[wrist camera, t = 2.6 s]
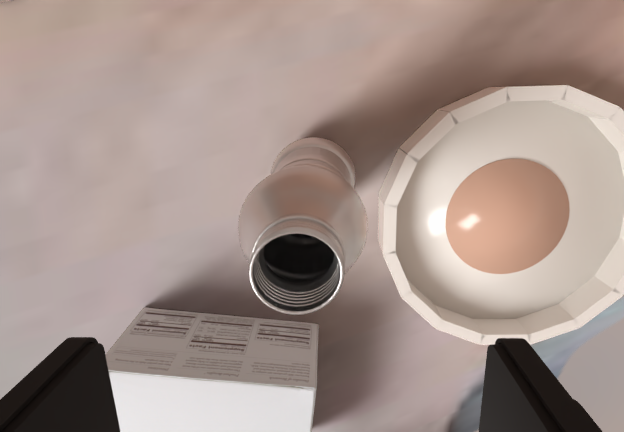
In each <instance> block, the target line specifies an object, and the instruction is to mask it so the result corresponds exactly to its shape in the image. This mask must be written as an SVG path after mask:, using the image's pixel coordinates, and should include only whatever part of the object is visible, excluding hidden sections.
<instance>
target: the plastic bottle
mask: <svg viewBox="0 0 624 432" xmlns="http://www.w3.org/2000/svg"><path fill="white" fill-rule="evenodd" d="M354 185H355V169H354V165H353V162H352V160H351V158H350V156H349V155H348V154H347V152H346V151H345V150H344V149H343V148H342V147H340V146H339V145H338V144H336V143H334V142H332V141H330V140H327V139H324V138H317V137H311V138H304V139H300V140H297V141H295V142H293V143H291V144H289V145H288V146H287V147H286V148H284V149H283V150H282V151H281V152H280V154H279V155H278V156H277V158H276V160H275V161H274V163H273V166H272V169H271V175H269V176H268V177H266V178H265V179H264V180H263V181H261V182H260V183H259V184H258V185H256V187H255V188H254V189H253V190H252V191H251V192H250V193H249V195H248V196H247V198H246V200H245V202H244V204H243V205H242V209H241V212H240V215H239V222H238V233H239V240H240V245H241V248H242V251H243V254H244V256H245V258H246V260H247V261H248V263H249V279H250V283H251V286H252V289H253V291H254V292H255V294H256V296H257V297H258V298H259V299H260V300H261V301H262V302H263V303H264V304H265V305H267V306H268V307H269V308H271V309H273V310H275V311H278V312H281V313H284V314H291V315H303V314H308V313H313V312H315V311H317V310H320V309H322V308H323V307H325V306H326V305H328V304H329V303H330V302H331V301H332V300H333V299H334V298H335V297H336V295H337V294H338V292H339V291H340V288H341V286H342V284H343V280H344V275H345V273H346V272H347V271H348V270H349V269H350V268H351V267H352V266H353V264H354V263H355V261H356V260H357V258H358V257H359V255H360V254H361V252H362V250H363V247H364V245H365V243H366V237H367V232H368V220H367V215H366V211H365V207H364V205H363V203H362V201H361V199H360V197H359V195H358V193H357V192H356V191H355V189H354Z"/></svg>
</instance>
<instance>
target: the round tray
mask: <svg viewBox="0 0 624 432" xmlns="http://www.w3.org/2000/svg"><path fill="white" fill-rule="evenodd" d="M378 242H379V245H380V248H381V251H382V254H383V256H384V259H385V261H386V263H387V266H388V268H389V270H390V273H391V275H392V277H393V280H394V282H395V284H396V287H397V289H398V291H399V294H400V296H401V298H402V299H403V300H404V301H405V302H406V303H408V304H409V305H410V306H411V307H412V308H413V309H414V310H415V311H416V312H417V313H419V314H420V315H421V316H422V317H423V318H424V319H425V320H426V321H427V322H428V323H429V324H431V325H432V326H433V327H434V328H436V329H437V330H440V331H443V332H445V333H448V334H451V335H454V336H457V337H459V338H462V339H465V340H468V341H470V342H473V343H476V344H479V345H490V344H495V342H496V340H497V339H498V338H523V339H525V340H526V341H527V342H528V343H529V344H530V345H531V344H534V343H537V342H540V341H543V340H546V339H549V338H552V337H554V336H557V335H560V334H563V333H566V332H569V331H572V330H575V329H578V328H579V327H582V326H583V325H584V324H586V323H587V322H588V321H590V320H591V319H592V318H594V317H595V316H597V315H598V314H599V313H601V312H602V311H603V310H605V309H606V308H607V307H609V306H610V305H611V304H613V303H614V302H615V301H617V300H618V299H619V298H621V297H622V295H624V111H623V110H622V108H621V107H619V106H617V105H614V104H612V103H609V102H607V101H605V100H602V99H600V98H598V97H595V96H593V95H590V94H588V93H586V92H583V91H581V90H579V89H576V88H574V87H571V86H569V85H546V86H512V87H488V88H485V89H483V90H481V91H479V92H476V93H474V94H472V95H469V96H467V97H465V98H463V99H460V100H458V101H456V102H453V103H451V104H449V105H447V106H444V107H442V108H440V109H438V110H436V111H435V112H434V113H433V114H432V115H431V116H430V117H429V118H428V119H427V120H426V121H425V122H424V123H423V124H422V125H421V126H420V127H419V128H418V129H417V130H416V131H415V132H414V133H413V134H412V135H411V136H410V137H409V138H408V139H407V140H406V141H405V142H404V143H403V144H402V145H401V146H400V147H399V149H398V151H397V153H396V155H395V158H394V160H393V162H392V164H391V167H390V169H389V171H388V173H387V176H386V178H385V180H384V182H383V185H382V187H381V189H380V191H379V195H378Z"/></svg>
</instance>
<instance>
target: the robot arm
mask: <svg viewBox="0 0 624 432" xmlns="http://www.w3.org/2000/svg"><path fill="white" fill-rule="evenodd" d="M8 1H13V0H0V3H3V2H8ZM0 432H120V427H119V422H118V417H117V412H116V406H115V401H114V396H113V391H112V386H111V381H110V376H109V371H108V366H107V361H106V356H105V351H104V347H103V345H102V344H98V342H97V340H96V339H95V338H93V337H71V338H68V339H66V340H65V341H64V342H63V343H61V344H60V345H59V346H58V347H57V348H56V349H55V350H54V351H53V352H52V353H51V354H50V355H48V356H47V357H46V358H45V359H44V360H43V361H42V362H41V363H40V364H39V365H38V366H36V367H35V368H34V369H33V370H32V371H31V372H30V373H29V374H28V375H27V376H26V377H24V378H23V379H22V380H21V381H20V382H19V383H18V384H17V385H16V386H15V387H14V388H13V389H11V390H10V391H9V392H8V393H7V394H6V395H5V396H4V397H3V398H2V399H1V400H0ZM479 432H602V431H601V429H600V428H599V427H598V426H597V424H596V423H595V422H594V421H593V419H592V418H591V417H590V416H589V414H588V413H587V412H586V411H585V409H584V408H583V407H582V406H581V405H580V404H579V403H578V402H577V401H576V400H574V399H572V398H571V396H570V395H569V394H568V392H567V391H566V390H565V389H564V387H563V386H562V385H561V384H560V382H559V381H558V380H557V379H556V377H555V376H554V375H553V373H552V372H551V371H550V370H549V368H548V367H547V366H546V365H545V363H544V362H543V361H542V360H541V358H540V357H539V356H538V355H537V353H536V352H535V351H534V349H533V348H532V347H531V346H530V344H529V343H528V342H527V341H526V340H525V339H523V338H498V339H497V340H496V342H495V344H490V345H489V346H488V350H487V359H486V368H485V378H484V387H483V397H482V406H481V416H480V425H479Z"/></svg>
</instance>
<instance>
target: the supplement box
mask: <svg viewBox="0 0 624 432" xmlns="http://www.w3.org/2000/svg"><path fill="white" fill-rule="evenodd" d="M318 332H319V325H318V324H314V323H306V322H295V321H284V320H273V319H262V318H252V317H241V316H230V315H219V314H209V313H198V312H187V311H176V310H165V309H155V308H146V307H145V308H143V309H142V310H141V311H140V313H139V314H138V315H137V316H136V318H135V319H134V320H133V321H132V323H131V324H130V325H129V326H128V327H127V329H126V330H125V331H124V333H123V334H122V335H121V336H120V337H119V339H118V340H117V341H116V342H115V344H114V345H113V346H112V347H111V349H110V350H109V351H108V352H107V353H106V355H105V356H106V361H107V366H108V371H109V376H110V381H111V386H112V391H113V396H114V401H115V406H116V412H117V417H118V422H119V427H120V432H312V425H313V416H314V407H315V398H316V390H317V355H318Z"/></svg>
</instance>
